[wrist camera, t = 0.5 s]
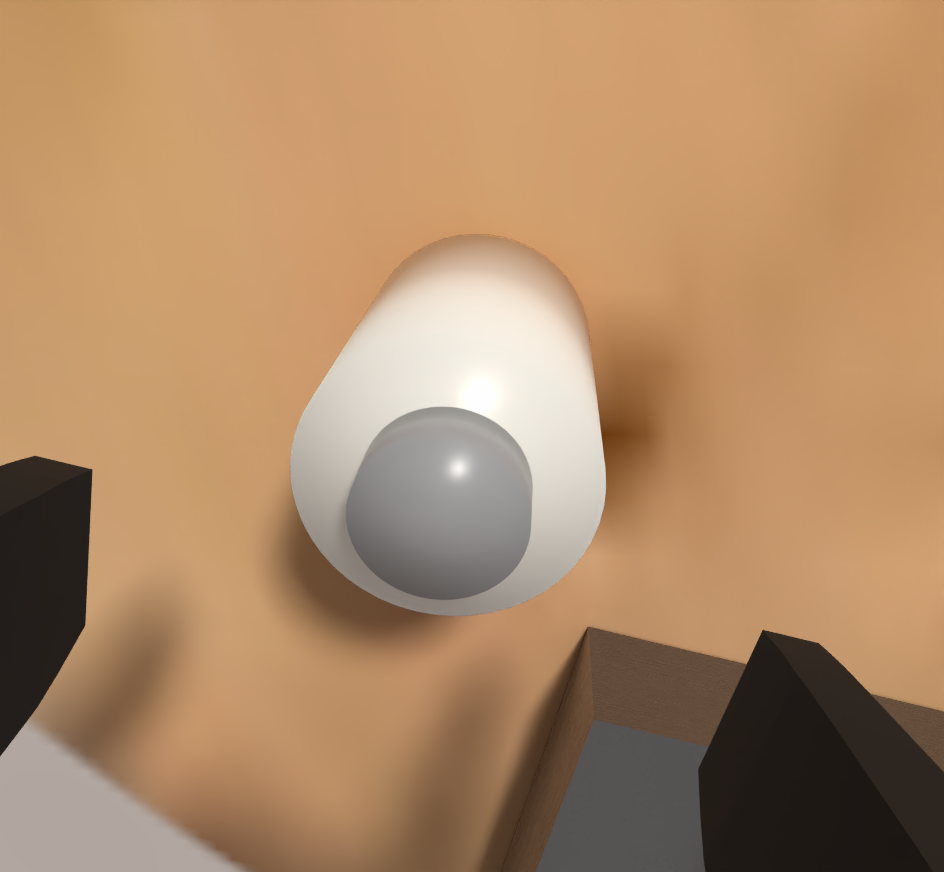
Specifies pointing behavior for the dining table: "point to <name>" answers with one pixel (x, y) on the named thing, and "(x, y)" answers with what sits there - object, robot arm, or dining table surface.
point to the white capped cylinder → (457, 434)
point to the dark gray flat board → (640, 759)
